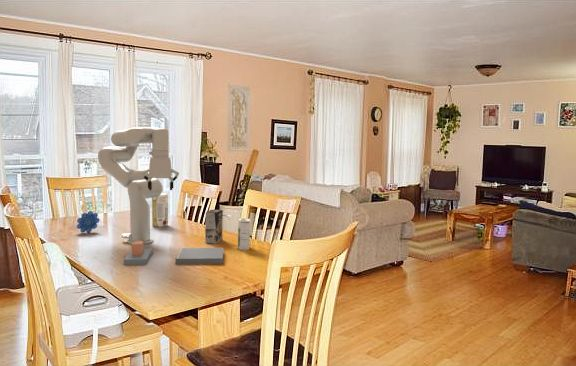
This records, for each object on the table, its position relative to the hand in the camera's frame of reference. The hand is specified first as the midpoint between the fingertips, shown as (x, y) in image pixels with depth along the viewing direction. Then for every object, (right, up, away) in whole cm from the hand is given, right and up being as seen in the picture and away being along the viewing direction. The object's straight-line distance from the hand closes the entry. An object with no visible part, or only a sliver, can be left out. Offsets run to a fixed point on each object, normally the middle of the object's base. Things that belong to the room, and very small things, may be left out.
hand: (160, 189), depth 222 cm
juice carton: (-15, -22, +54) cm, 60 cm away
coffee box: (+23, -27, +18) cm, 40 cm away
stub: (-5, -30, -17) cm, 35 cm away
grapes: (-49, -24, +32) cm, 63 cm away
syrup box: (+39, -29, +5) cm, 49 cm away
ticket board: (+22, -31, -14) cm, 40 cm away
